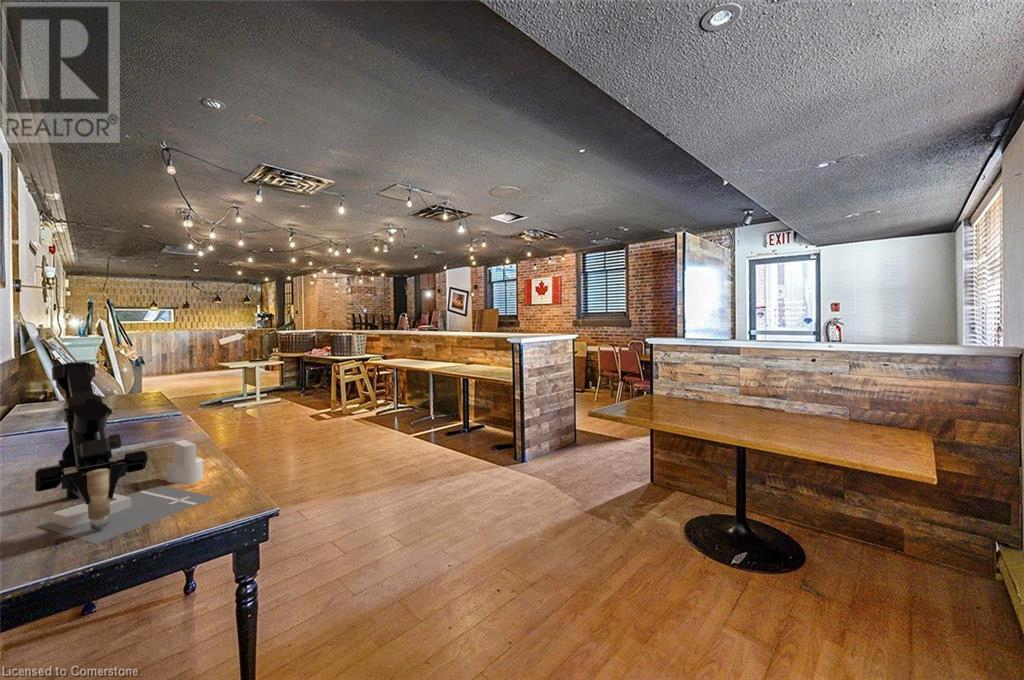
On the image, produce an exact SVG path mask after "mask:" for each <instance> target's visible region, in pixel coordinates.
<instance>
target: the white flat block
mask: <svg viewBox="0 0 1024 680" xmlns="http://www.w3.org/2000/svg"><path fill="white" fill-rule="evenodd" d="M126 496H127V495H122V494H118V493H114V494H113V498H112V499H110V514H112V513H115V512H118V511H121V510H124V509H127V508H130V507H131V498H130V497H126ZM52 520H53V523H55V524H58V525H62V526H65V527H68V528H72V527H74V526H77V525H80V524H83V523H86V522H89V521H90V519H89V518H88V504H87V505H86V504H85V503H84V502H83V503H80V504H76V505H74V506H70V507H67V508H64V509H61V510H60V509H59V510H58V511H54V512H53V513H52Z"/></svg>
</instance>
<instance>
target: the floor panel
mask: <svg viewBox="0 0 1024 680" xmlns="http://www.w3.org/2000/svg"><path fill="white" fill-rule="evenodd" d="M125 496H126V497H130V498H131V507H130V508H127V509H124V510H121V511H118V512H115V513H112V514H109V515H108V522H109V524H108V525H107V526H105V527H102V528H98V529H91V528H90V521H89V522H86V523H83V524H80V525H77V526H74V527H72V528H68V527H65V526H62V525H58V524H55V523H53V519H50V520H47V521H44V522H43V521H42V522H41V523H40V522H39V523H38V524H36V526H38V527H41V528H44V529H48V530H50V531H53V532H56V533H60V534H62V535H66V536H69V537H73V538H75V539H78V540H82V541H84V542H88V543H90V544H94V545H97V544H99V543H102V542H105V541H108V540H110V539H113V538H115V537H118V536H120V535H123V534H125V533H128V532H131V531H133V530H136V529H139V528H140V527H143V526H146V525H149V524H152V523H153V522H156V521H159V520H161V519H164V518H166V517H167V518H168V517H169V516H172V515H175V514H178V513H180V512H182V511H184V510H187V509H190V508H192V507H195V506H197V505H200V504H203V503H205V502H208V501H210V500H213V499H215V498H216V497H215V496H211V495H208V494H207V495H206V494H202V493H197V492H192V491H187V490H184V489H179V488H175V487H170V486H165V485H161V484H160V485H157V486H153V487H149V488H147V489H143V490H141V491H137V492H135V493H132V494H128V495H125Z"/></svg>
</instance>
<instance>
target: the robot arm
mask: <svg viewBox="0 0 1024 680" xmlns="http://www.w3.org/2000/svg"><path fill="white" fill-rule="evenodd" d="M95 378H96V364H95V363H90V362H87V361H71V362H66V363H58V364H57V365H54V366H52V368H51V380H52V382H55V388H56V389H57V390H58V391H59V392H60V393H62V394H63V395H64V401H65V408H63V410H62V416H63V423H66V426H67V427H66V428H67V441H68V444H67V446H66V447H65V449H64V450H63V451H62V454H61V459H59V460H58V463H57V464H58V465H53V466H52V465H51V466H46V467H45V466H44V467H39V468H38V469H37V470H36V471H35V472H34V488H35V489H34V491H35V492H43V491H47V490H52V489H57V488H58V487H59V486H60V485H61V490H65V491H66V493H65V494H66V495H65V497H62V498H60V500H62V499H65V498H66V499H70V500H71V499H80V500H81V501H82V502H83V503H85V504H86V505H87V504H89V497H88V493H87V472H89V471H92V470H96V469H104V468H106V469H109V497H110V499H112V498H113V494H115V490H116V486H117V484H118V482H119V480H120V478H122V477H123V478H124V477H125V476H126V473H127V474H129V473H134V472H139V471H143V470H145V469H146V465H147V463H148V460H149V455H148V452H147V451H145V450H144V449H141V450H135V451H130V452H125V453H124V457H123V458H122V459H118V460H117V459H116V460H111V459H112V458H113V453H112V450H116V449H120V448H121V446H122V438H121V435H120V434H112V435H111V434H110V435H109V436H108V437H106V432H105V429H106V427H107V423H108V418H109V417H110V415H112V414H113V410H112V408H110V407H109V406H108V405H107V403H104V402H103V399H102V396H100V395H98V394H96V393H94V390H93V389H94V388H93V385H92V381H93V379H95Z"/></svg>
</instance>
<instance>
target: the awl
mask: <svg viewBox="0 0 1024 680" xmlns="http://www.w3.org/2000/svg"><path fill="white" fill-rule="evenodd" d="M109 475H110V470H109V469H106V468H104V469H96V470H92V471H89V472H87V493H88V497H89V504H88V518H89V519H90V528H91V529H98V528H102V527H105V526H107V525H108V524H109V522H108V515H109V514H110V497H109Z"/></svg>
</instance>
